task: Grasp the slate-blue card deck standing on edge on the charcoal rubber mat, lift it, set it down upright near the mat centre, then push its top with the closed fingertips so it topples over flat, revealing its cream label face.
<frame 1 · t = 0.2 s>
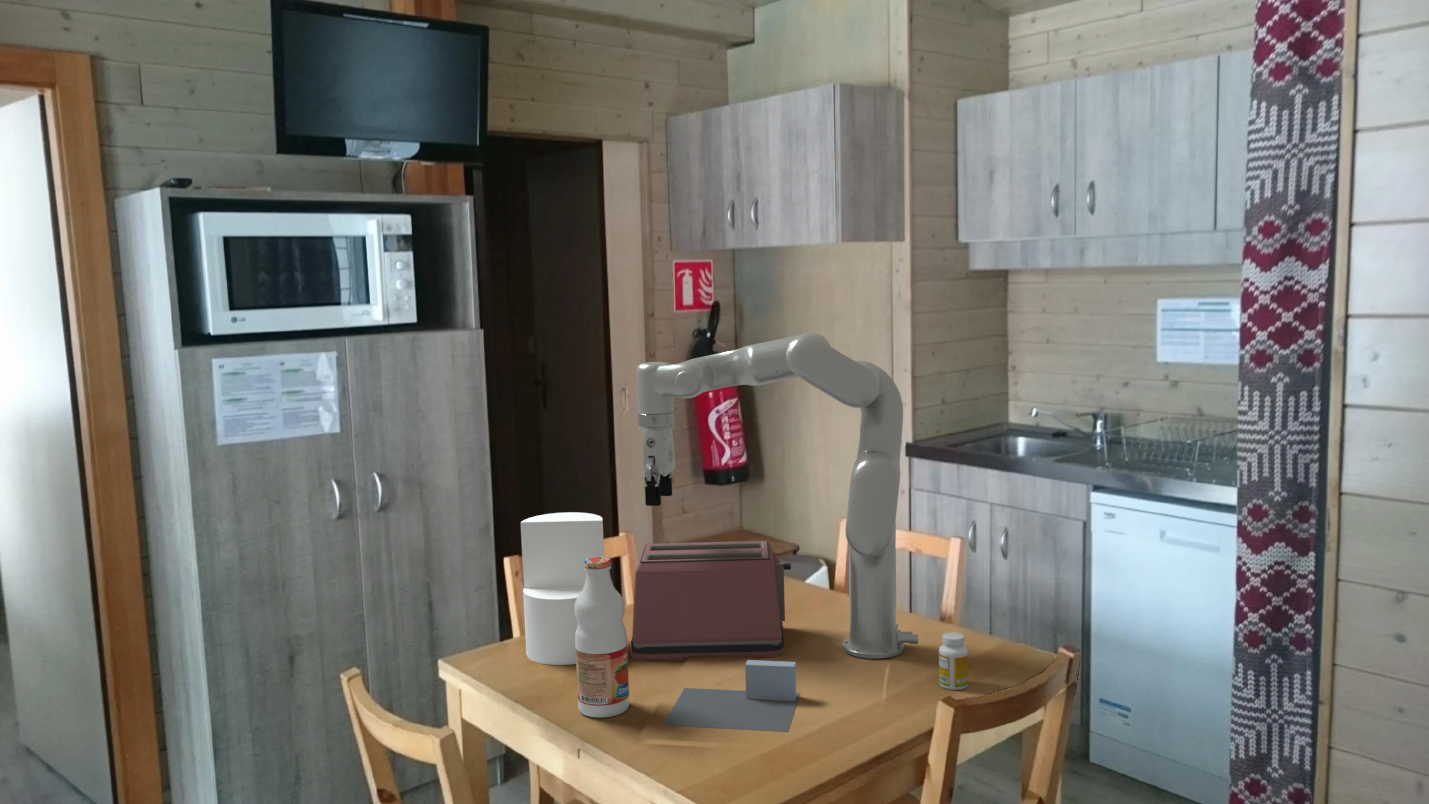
hand: (659, 500, 229), 31 cm above the table, fingers open, 9 cm apart
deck: (771, 697, 199), point 1 cm above the table, touching mat
mat: (733, 712, 194), on the table
supplement bottle: (953, 686, 204), on the table
fruit juice: (604, 709, 198), on the table
cylinder: (567, 651, 229), on the table
toaster: (713, 644, 231), on the table
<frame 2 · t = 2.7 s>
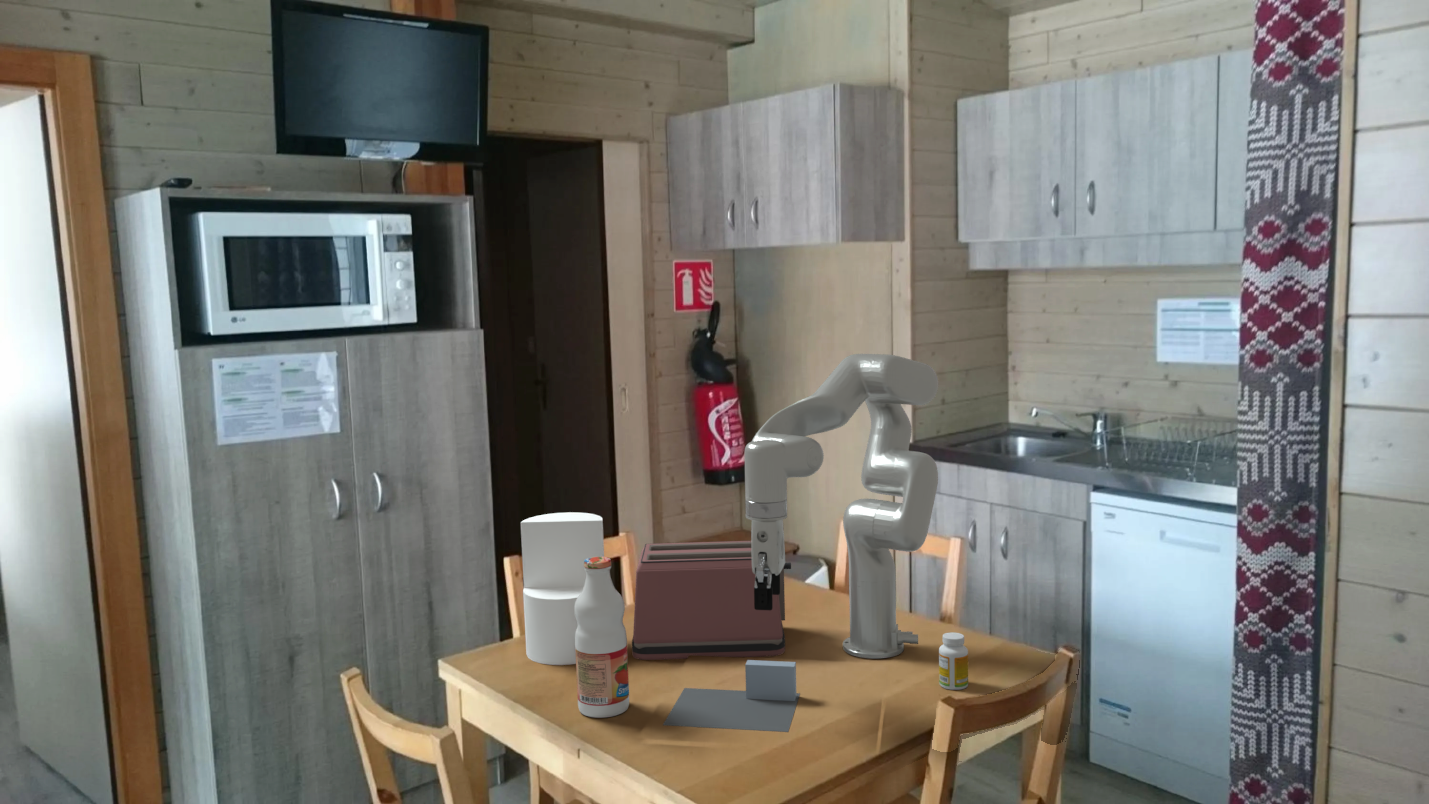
hand: (767, 601, 196), 19 cm above the table, fingers open, 9 cm apart
nothing on the table moved.
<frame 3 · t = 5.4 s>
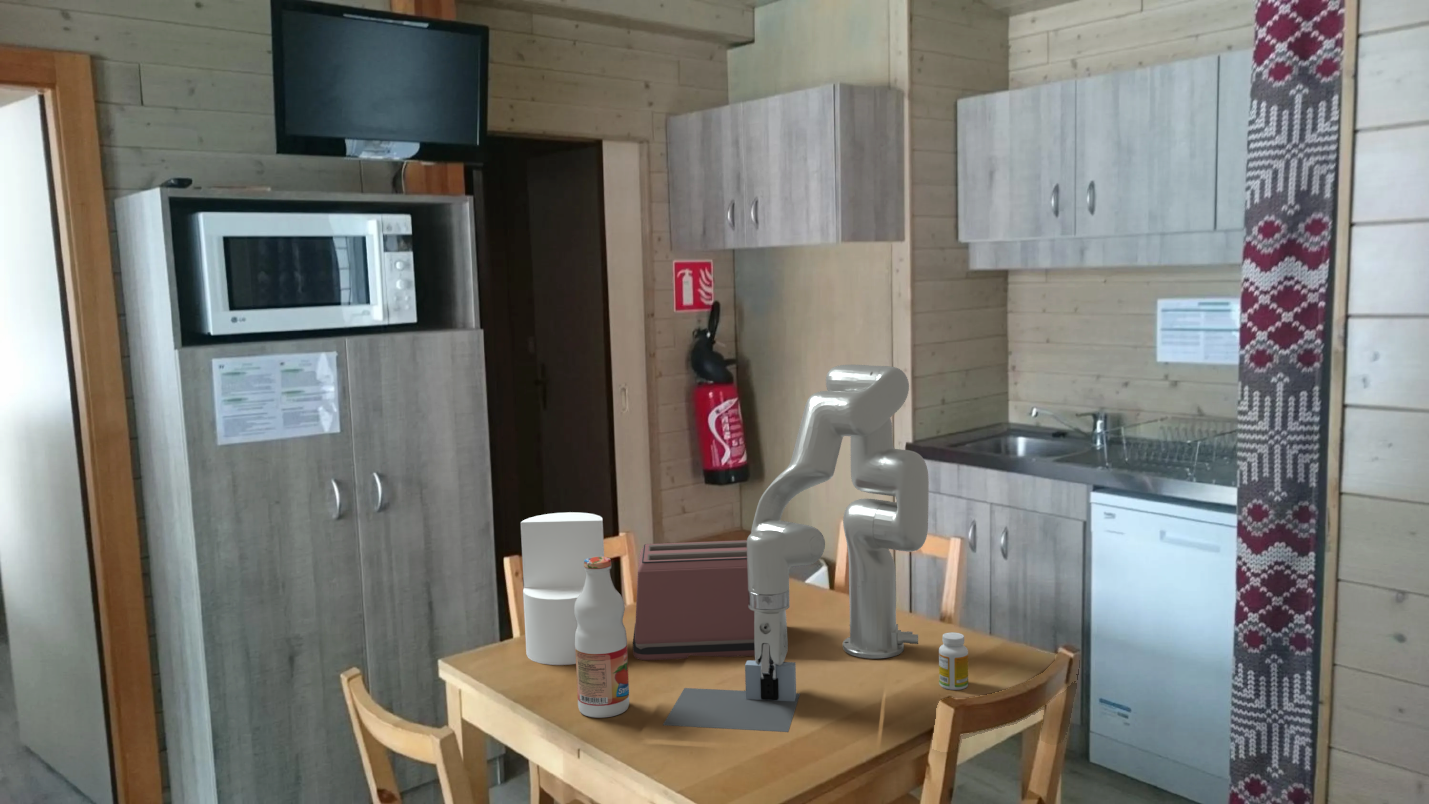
hand: (771, 695, 198), 1 cm above the table, fingers closed on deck, 2 cm apart
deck: (771, 697, 198), point 1 cm above the table, touching gripper, mat
everything else where it was.
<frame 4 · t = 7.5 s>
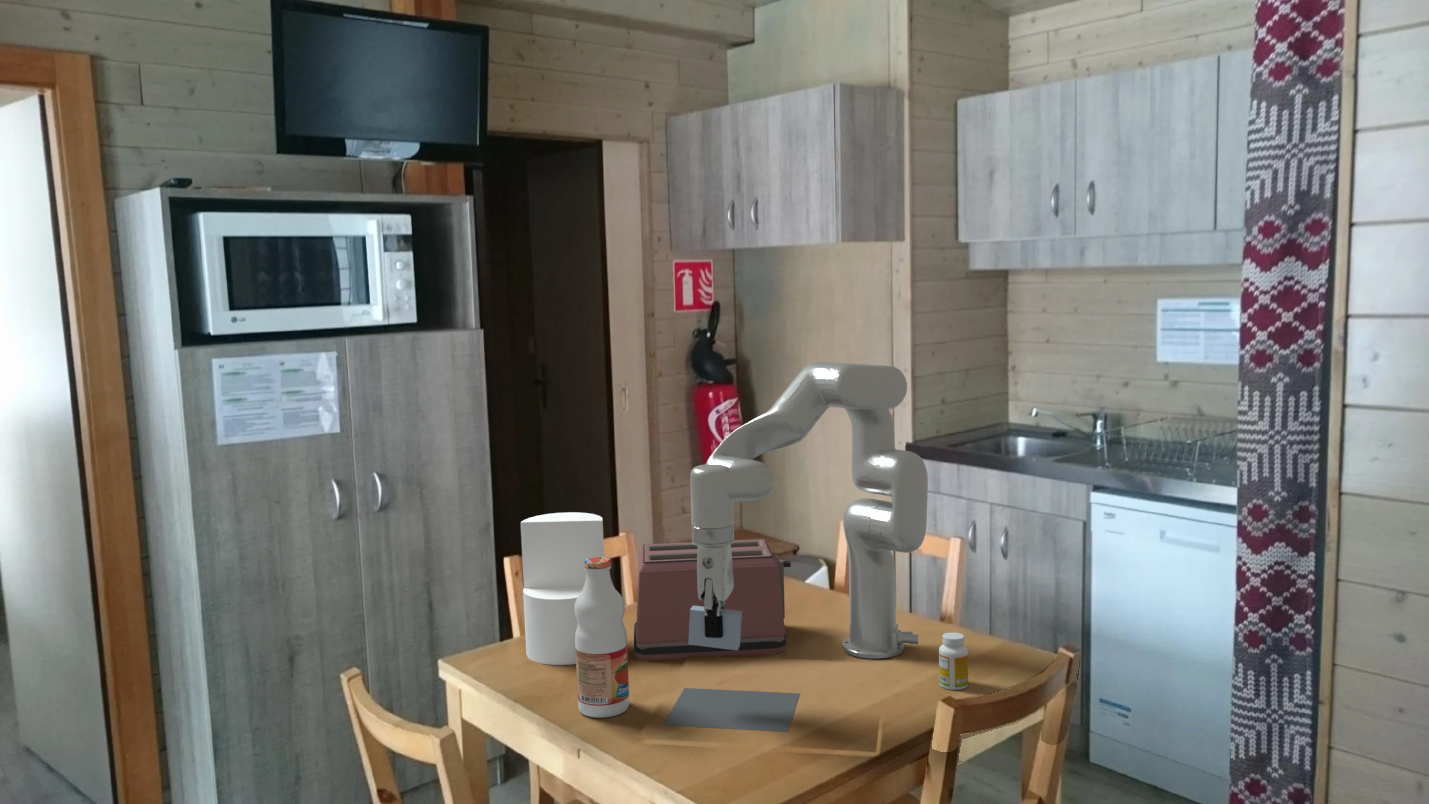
hand: (715, 633, 194), 14 cm above the table, fingers closed on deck
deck: (714, 645, 194), point 12 cm above the table, touching gripper
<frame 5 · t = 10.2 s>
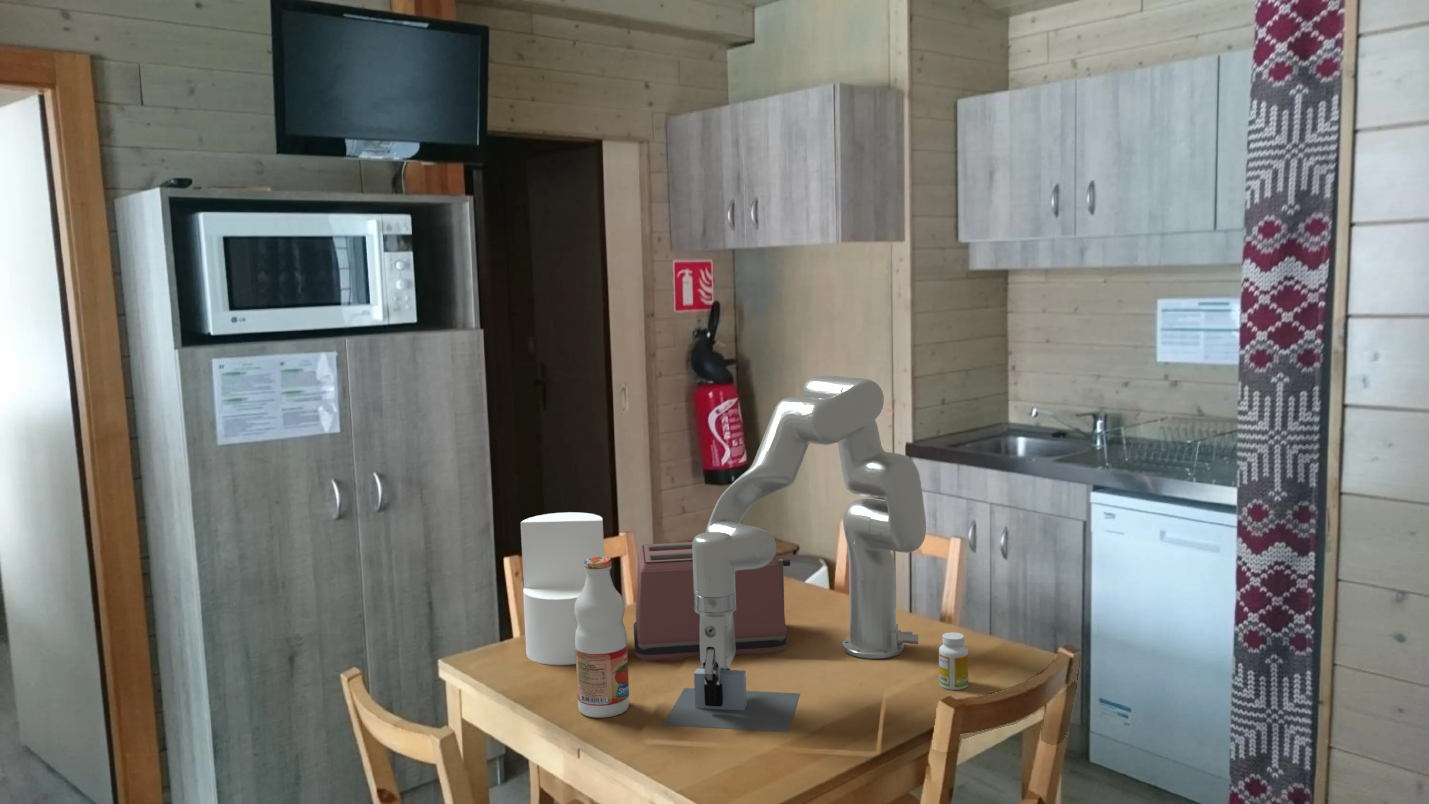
hand: (717, 696, 195), 3 cm above the table, fingers open, 6 cm apart
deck: (720, 706, 195), point 1 cm above the table, touching mat
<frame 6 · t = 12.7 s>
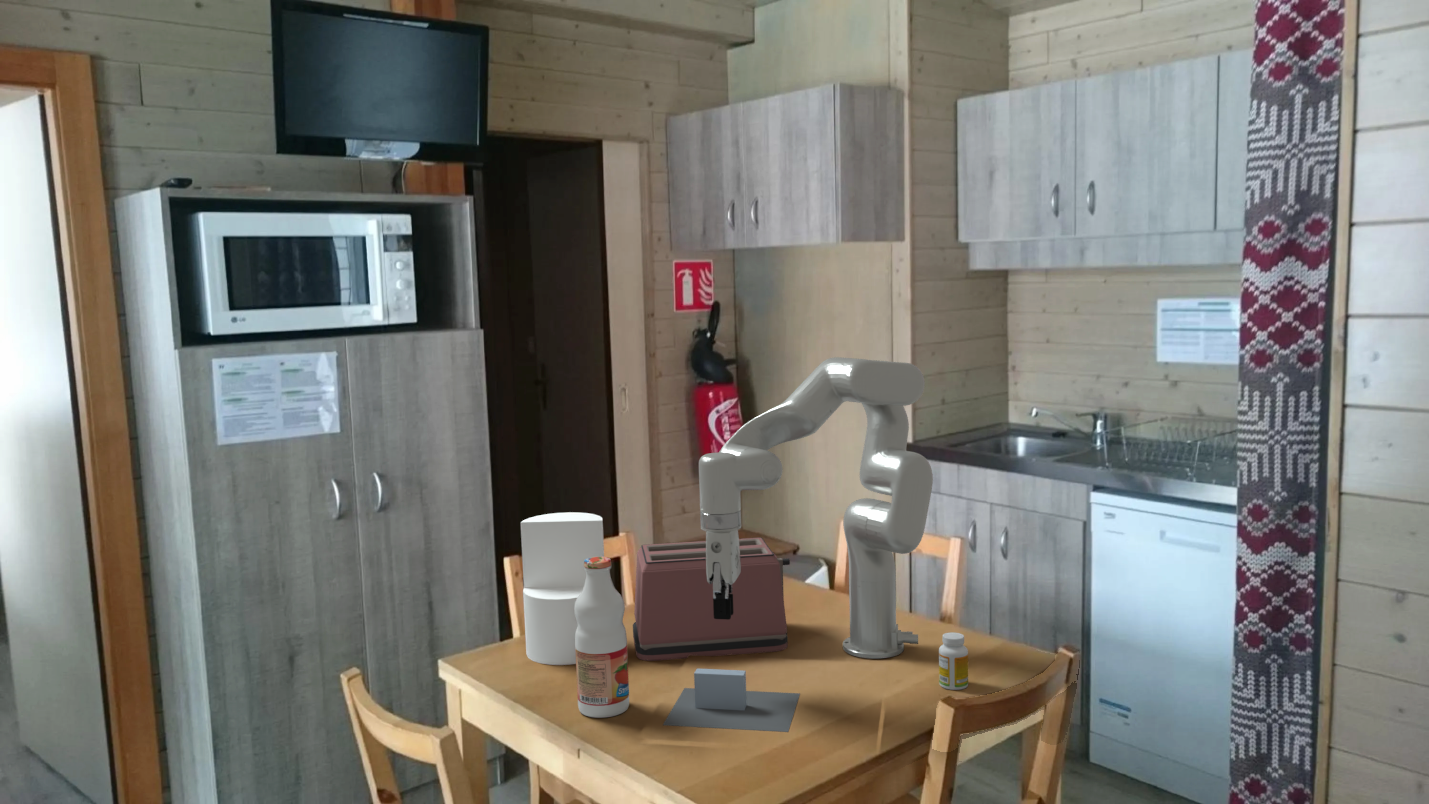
hand: (723, 615, 201), 15 cm above the table, fingers closed
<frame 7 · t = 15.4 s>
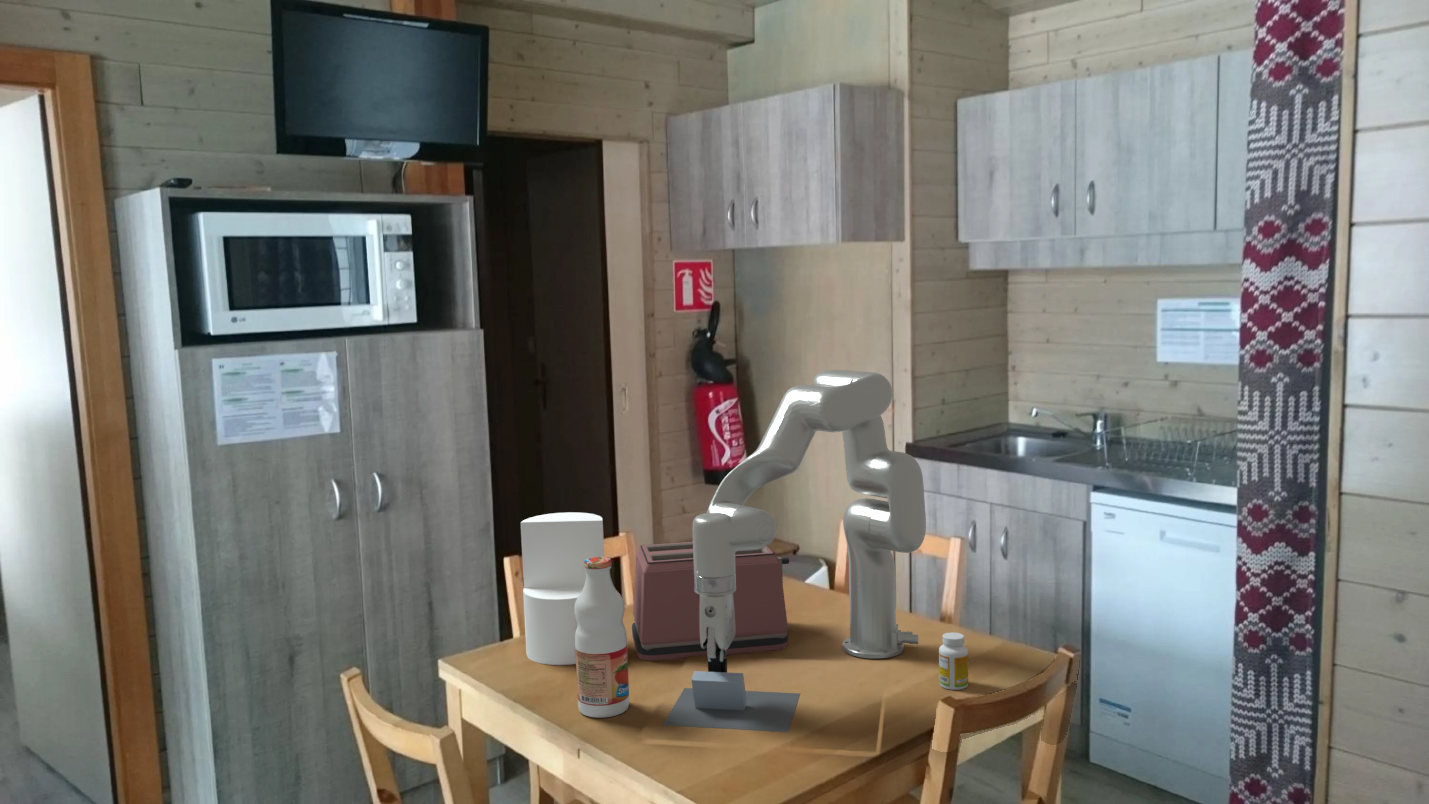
hand: (717, 680, 196), 5 cm above the table, fingers closed
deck: (720, 704, 195), point 1 cm above the table, tilted 20°, touching mat
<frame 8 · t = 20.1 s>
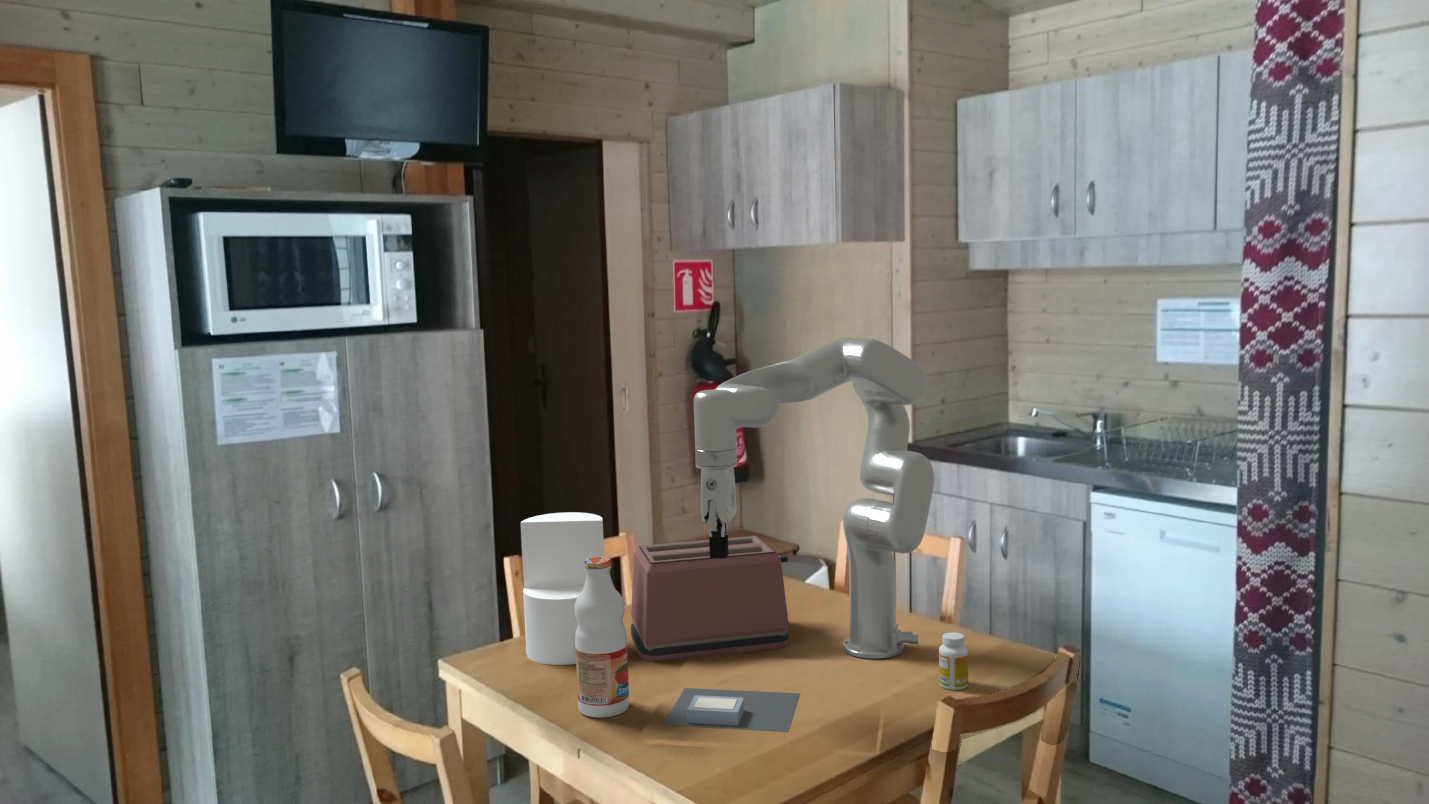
hand: (719, 556, 197), 27 cm above the table, fingers closed
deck: (719, 702, 194), point 2 cm above the table, tilted 90°, touching mat
at the end: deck tilted 90°; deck inside the target area on the mat (2.4 cm from its centre), point 2.0 cm above the mat's base; the gripper is holding nothing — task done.
